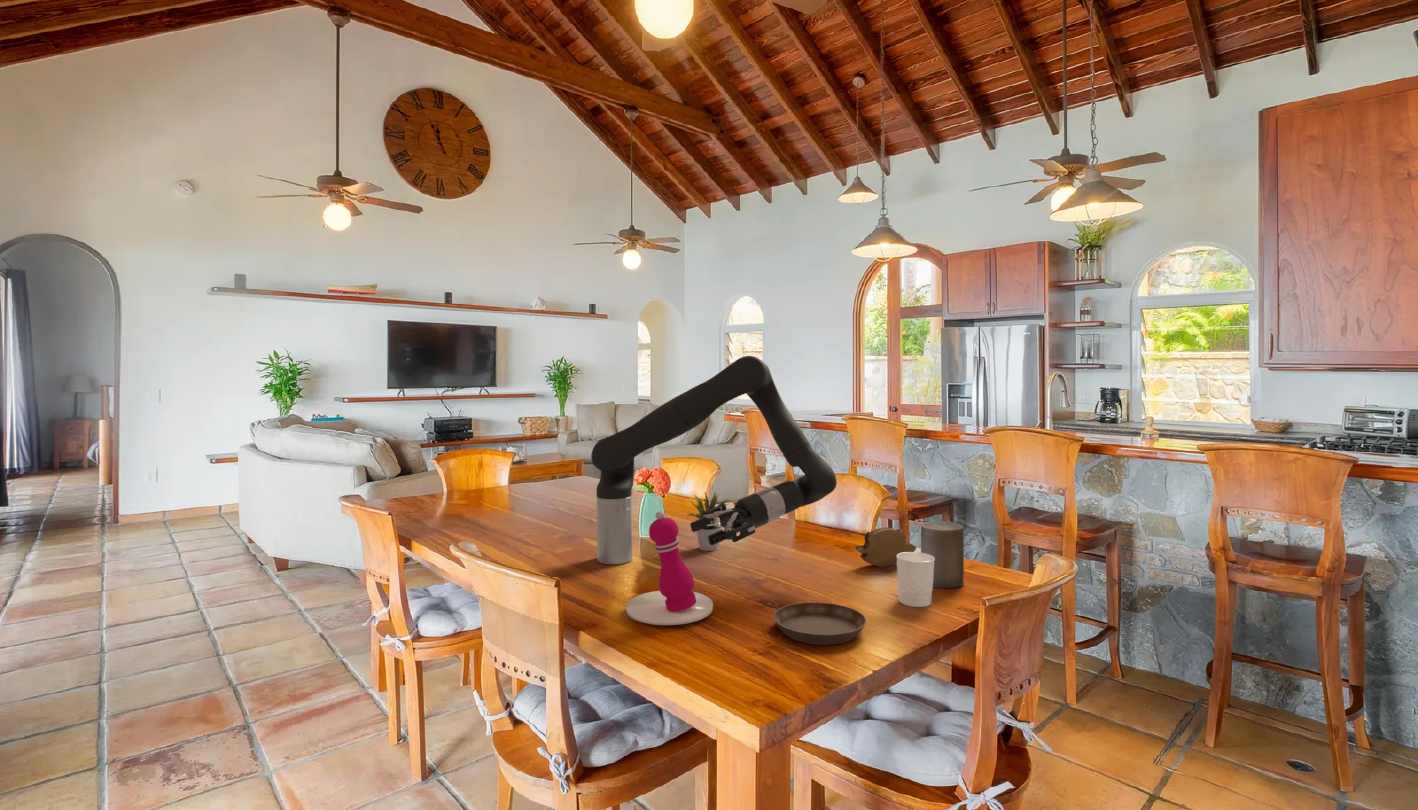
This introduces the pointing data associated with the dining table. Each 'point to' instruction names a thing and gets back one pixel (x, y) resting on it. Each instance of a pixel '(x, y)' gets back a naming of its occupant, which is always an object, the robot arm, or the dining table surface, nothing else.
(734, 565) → the dining table surface
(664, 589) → the pepper mill
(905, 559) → the white cup
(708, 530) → the house plant
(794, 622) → the plant saucer
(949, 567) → the pillar candle
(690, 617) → the plate
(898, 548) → the wooden carving
